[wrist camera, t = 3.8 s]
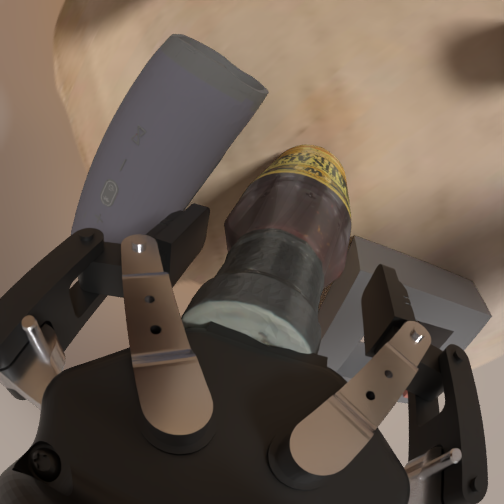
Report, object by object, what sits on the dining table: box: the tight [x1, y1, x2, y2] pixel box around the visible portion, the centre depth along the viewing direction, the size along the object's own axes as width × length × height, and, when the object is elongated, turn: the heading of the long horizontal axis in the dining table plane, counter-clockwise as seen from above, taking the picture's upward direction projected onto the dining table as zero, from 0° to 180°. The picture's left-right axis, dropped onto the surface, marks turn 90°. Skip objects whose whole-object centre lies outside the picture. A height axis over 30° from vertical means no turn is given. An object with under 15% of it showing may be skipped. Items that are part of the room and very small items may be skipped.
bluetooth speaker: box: [71, 34, 269, 244], centre depth 22 cm, size 23×9×10 cm, turn 140°
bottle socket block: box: [317, 235, 492, 403], centre depth 26 cm, size 16×16×7 cm
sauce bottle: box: [181, 145, 351, 354], centre depth 16 cm, size 7×6×20 cm
